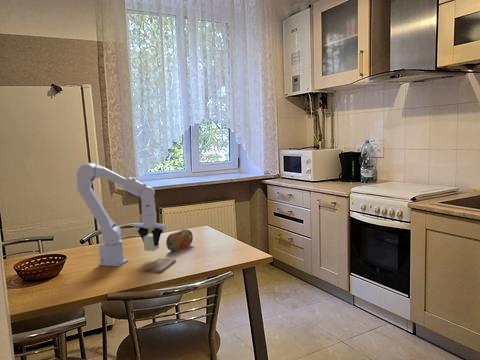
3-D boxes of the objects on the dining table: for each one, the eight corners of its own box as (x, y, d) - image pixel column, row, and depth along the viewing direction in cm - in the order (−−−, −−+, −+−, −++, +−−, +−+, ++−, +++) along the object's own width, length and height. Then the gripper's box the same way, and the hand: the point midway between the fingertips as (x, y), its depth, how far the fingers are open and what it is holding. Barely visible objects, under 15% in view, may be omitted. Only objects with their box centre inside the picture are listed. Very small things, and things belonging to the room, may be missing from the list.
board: (142, 273, 153) (142, 269, 153) (159, 261, 165) (158, 258, 165) (160, 274, 150) (160, 270, 150) (176, 262, 163) (175, 259, 163)
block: (144, 250, 165) (143, 236, 164) (149, 247, 169) (148, 233, 168) (153, 251, 163) (152, 237, 162) (159, 247, 167) (158, 234, 167)
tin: (170, 253, 173) (169, 235, 172) (165, 252, 175) (164, 234, 174) (193, 244, 185) (192, 227, 184) (189, 243, 187) (187, 227, 186)
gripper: (168, 212, 165) (170, 243, 167) (139, 211, 170) (141, 241, 172) (160, 216, 159) (162, 248, 161) (130, 215, 163) (132, 246, 165)
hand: (151, 245), depth 166 cm, fingers closed on block, 4 cm apart
